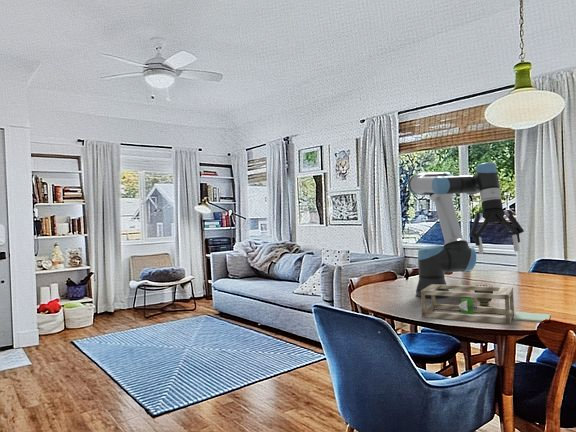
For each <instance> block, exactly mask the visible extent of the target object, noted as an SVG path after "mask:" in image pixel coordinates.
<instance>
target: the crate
mask: <svg viewBox="0 0 576 432" xmlns="http://www.w3.org/2000/svg"><path fill="white" fill-rule="evenodd" d="M437 289H449V291H436V290H437ZM450 290H458V291H450ZM459 290H462V291H459ZM474 290H479V291H493V292H496V293H493V294H489V293H475V292H467V291H474ZM425 295H431V298H430V299H431V300H430V301H431V304H430V305H428V306H427V305H426V298H425ZM435 295H438V296H448V297H456V298H457V297H458V298H459V297H460V298H473V299H474V298H475V299H476V298H492V300H493V299H494V300H504V307H494V306H493V307H491V306H490V307H489V306H476V307H477V310H476V308H474V309H473V310H474V313H481V312H483V313H482V314H483V315H482V314H481V315H479V314H475V315H470V314H462V313H455V312H442V311H441V312H440V311H434V310H440V309H447V311H454V310H460V309H461V308H458V304H448V303H447V304H445V303H436V298H435ZM420 301H421V303H420V304H421V316H424V317H423V318H431V317H433V319H434V318H435V319H442V320H443V319H445V320H456V321H469V322H481V323H491V324H495V323H496V324H505V325H511V322H512V320H513V318H514V315H515V304H514V303H515V302H514V301H515V300H514V287H510V286H509V287H508V286H507V287H506V286H493V287H491V286H490V287H489V286H488V285H487V286H486V285H484V286H483V285H481V286H480V285H478V286H477V285H464V284H463V285H461V284H459V285H457V284H456V285H455V284H447V285H440V284H431V285H429V286H428V287H426V288H424V289H423V290H421V297H420ZM426 306H427V307H426ZM435 308H436V309H435ZM432 310H433V311H432ZM431 311H432V312H431ZM475 311H476V312H475ZM460 312H462V309H461V311H460ZM485 313H486V314H495V313H496V314H498V315H505V316H496V315H494V316H493V315H484V314H485Z"/></svg>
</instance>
